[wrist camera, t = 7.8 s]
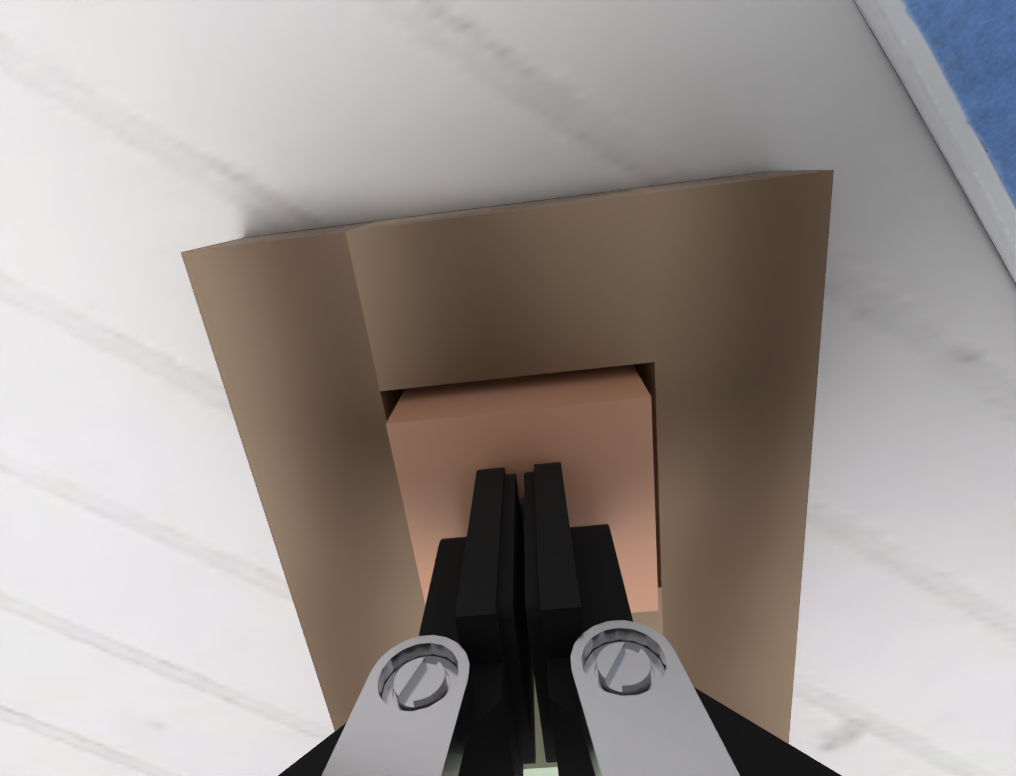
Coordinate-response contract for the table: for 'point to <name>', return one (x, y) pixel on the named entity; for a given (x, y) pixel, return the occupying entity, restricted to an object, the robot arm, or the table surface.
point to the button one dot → (533, 458)
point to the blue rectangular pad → (962, 94)
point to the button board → (530, 351)
